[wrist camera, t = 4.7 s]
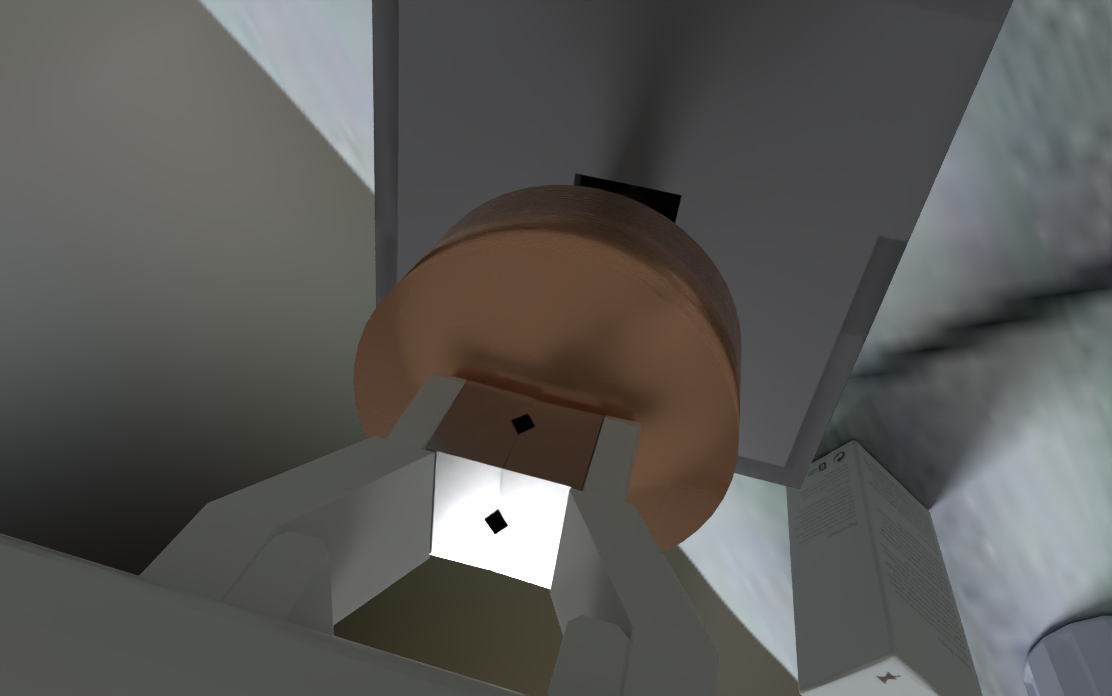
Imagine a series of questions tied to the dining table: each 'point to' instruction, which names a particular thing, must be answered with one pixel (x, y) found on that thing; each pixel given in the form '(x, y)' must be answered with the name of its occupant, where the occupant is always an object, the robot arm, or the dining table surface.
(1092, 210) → the dining table surface
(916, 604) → the skincare box
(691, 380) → the plunger
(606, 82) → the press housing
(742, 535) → the dining table surface
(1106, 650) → the soap bottle
